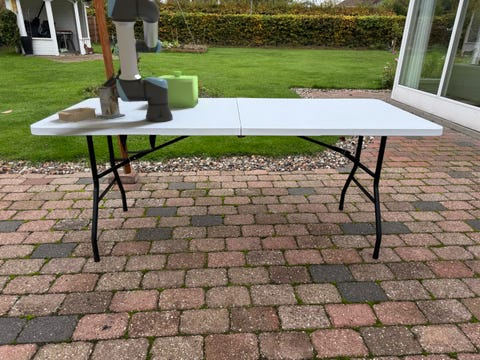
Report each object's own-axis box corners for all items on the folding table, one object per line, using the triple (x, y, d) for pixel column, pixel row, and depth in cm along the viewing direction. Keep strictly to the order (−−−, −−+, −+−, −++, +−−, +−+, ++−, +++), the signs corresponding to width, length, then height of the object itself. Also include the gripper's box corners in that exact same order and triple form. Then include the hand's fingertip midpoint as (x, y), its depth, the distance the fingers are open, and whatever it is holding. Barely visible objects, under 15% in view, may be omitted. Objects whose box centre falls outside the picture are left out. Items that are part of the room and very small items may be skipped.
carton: (99, 116, 205) (98, 108, 203) (69, 122, 188) (68, 114, 187) (85, 114, 211) (83, 106, 209) (54, 120, 194) (53, 112, 192)
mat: (125, 116, 207) (125, 114, 207) (109, 119, 197) (109, 117, 197) (113, 114, 212) (113, 112, 211) (97, 117, 202) (97, 115, 201)
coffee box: (110, 113, 209) (107, 86, 203) (120, 114, 208) (117, 86, 202) (101, 116, 201) (97, 87, 195) (111, 116, 199) (107, 88, 194)
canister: (157, 107, 237) (155, 72, 228) (164, 102, 257) (162, 69, 248) (194, 107, 237) (192, 72, 228) (198, 102, 256) (197, 70, 248)
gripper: (146, 74, 212) (135, 102, 205) (112, 72, 219) (99, 100, 212) (140, 65, 206) (128, 94, 198) (105, 64, 213) (92, 92, 205)
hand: (113, 97), depth 205 cm, fingers open, 13 cm apart
